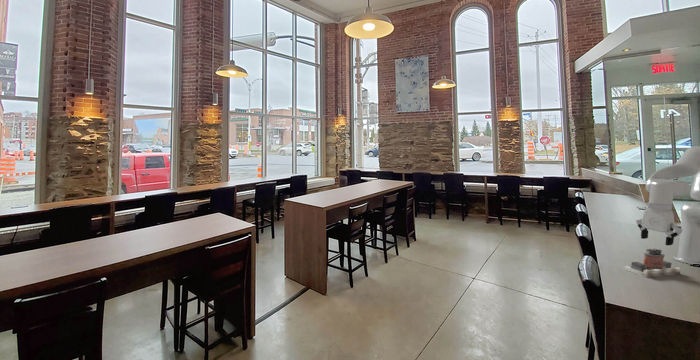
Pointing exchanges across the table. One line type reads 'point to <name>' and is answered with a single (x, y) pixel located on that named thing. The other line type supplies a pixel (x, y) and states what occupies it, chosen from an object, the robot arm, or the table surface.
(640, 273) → the white base plate
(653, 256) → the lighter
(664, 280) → the table surface
